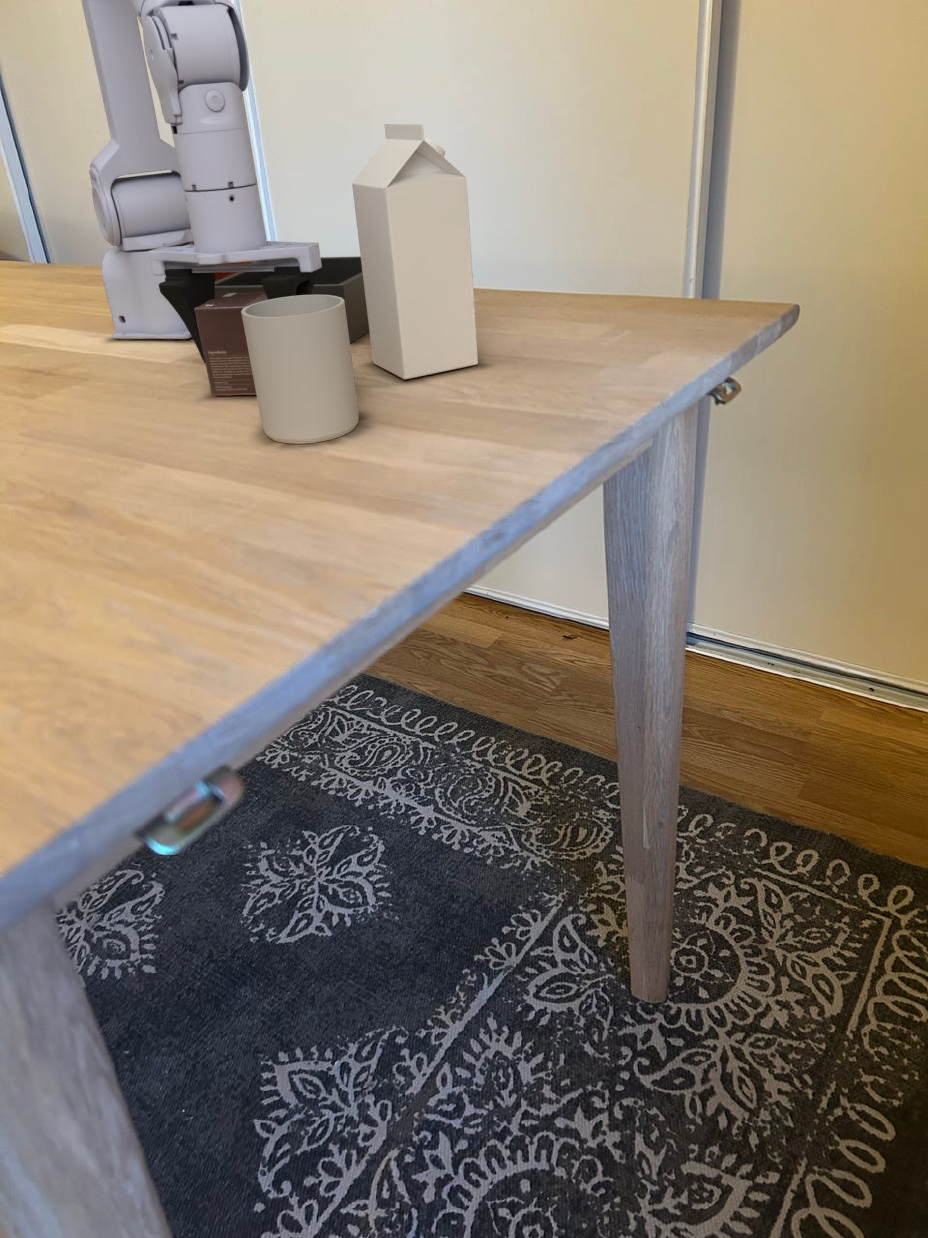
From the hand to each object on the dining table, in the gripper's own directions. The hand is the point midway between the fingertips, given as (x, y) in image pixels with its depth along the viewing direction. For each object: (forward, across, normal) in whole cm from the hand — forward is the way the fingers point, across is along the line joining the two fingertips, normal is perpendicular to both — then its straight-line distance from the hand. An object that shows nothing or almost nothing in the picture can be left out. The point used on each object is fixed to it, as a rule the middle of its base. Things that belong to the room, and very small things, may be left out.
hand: (252, 360), depth 81 cm
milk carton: (+2, +13, +7) cm, 15 cm away
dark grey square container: (+2, -5, +22) cm, 23 cm away
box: (+2, 0, 0) cm, 2 cm away
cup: (+2, +9, -9) cm, 13 cm away
